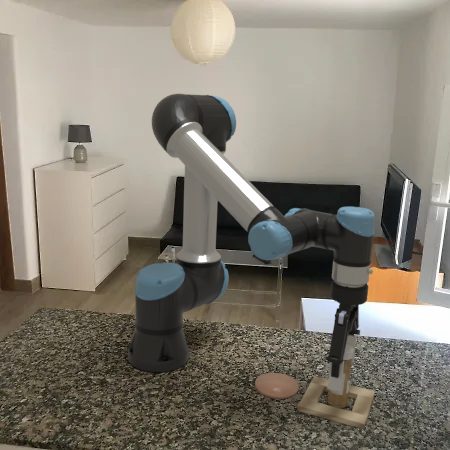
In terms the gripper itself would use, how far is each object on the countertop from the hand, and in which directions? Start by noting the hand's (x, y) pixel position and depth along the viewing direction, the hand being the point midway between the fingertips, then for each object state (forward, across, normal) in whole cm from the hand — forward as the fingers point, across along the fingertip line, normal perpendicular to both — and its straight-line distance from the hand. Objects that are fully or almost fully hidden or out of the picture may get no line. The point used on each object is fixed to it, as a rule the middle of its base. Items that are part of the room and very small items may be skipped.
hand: (341, 374), depth 114 cm
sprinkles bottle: (+7, 0, 0) cm, 7 cm away
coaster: (+7, 0, +14) cm, 16 cm away
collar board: (+7, 0, 0) cm, 7 cm away
